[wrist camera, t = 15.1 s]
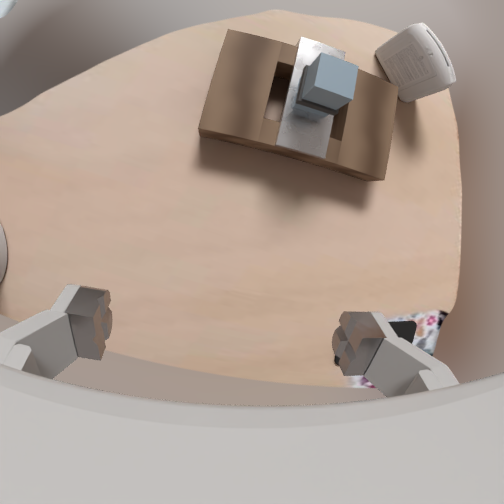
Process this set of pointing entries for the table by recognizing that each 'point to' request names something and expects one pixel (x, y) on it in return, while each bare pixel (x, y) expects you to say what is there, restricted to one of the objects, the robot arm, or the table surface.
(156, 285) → the table surface
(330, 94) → the blue-gray rectangular block
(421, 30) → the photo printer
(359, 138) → the brown tissue box
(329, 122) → the white rectangular bar
